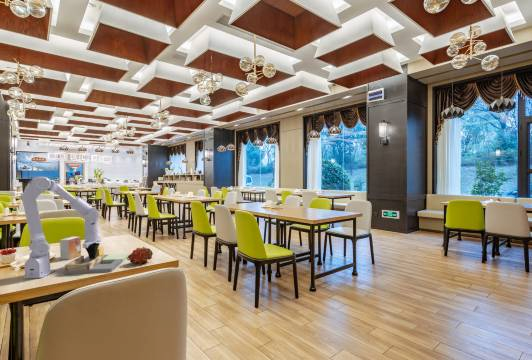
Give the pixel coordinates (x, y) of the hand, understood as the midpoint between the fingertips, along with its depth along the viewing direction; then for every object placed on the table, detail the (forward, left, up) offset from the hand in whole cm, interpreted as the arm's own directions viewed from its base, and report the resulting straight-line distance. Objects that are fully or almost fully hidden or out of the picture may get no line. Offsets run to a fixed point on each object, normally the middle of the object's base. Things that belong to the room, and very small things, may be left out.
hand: (92, 258), depth 147 cm
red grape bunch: (-4, -24, -3) cm, 24 cm away
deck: (-3, -4, -2) cm, 6 cm away
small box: (+13, +17, -3) cm, 21 cm away
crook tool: (+8, -18, -2) cm, 20 cm away
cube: (+4, 0, -1) cm, 4 cm away
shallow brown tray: (-7, 0, -1) cm, 7 cm away
